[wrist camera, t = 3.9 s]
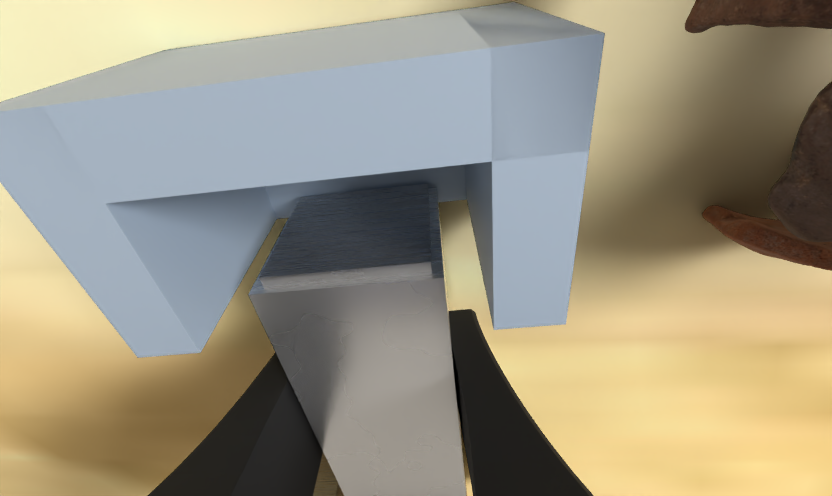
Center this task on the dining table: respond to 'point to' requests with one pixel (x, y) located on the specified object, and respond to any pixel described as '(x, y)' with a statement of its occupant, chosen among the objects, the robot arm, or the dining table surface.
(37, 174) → the socket
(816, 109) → the pottery mug
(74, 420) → the dining table surface
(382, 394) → the bar
